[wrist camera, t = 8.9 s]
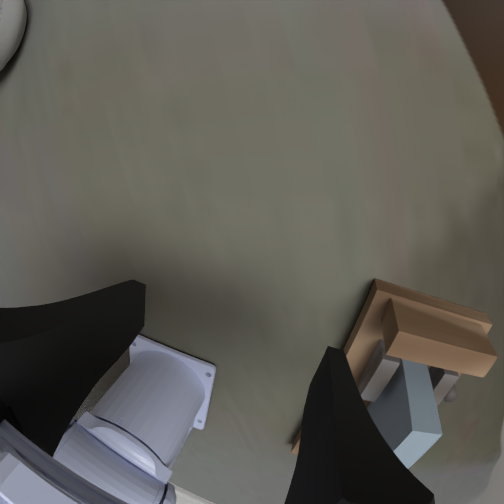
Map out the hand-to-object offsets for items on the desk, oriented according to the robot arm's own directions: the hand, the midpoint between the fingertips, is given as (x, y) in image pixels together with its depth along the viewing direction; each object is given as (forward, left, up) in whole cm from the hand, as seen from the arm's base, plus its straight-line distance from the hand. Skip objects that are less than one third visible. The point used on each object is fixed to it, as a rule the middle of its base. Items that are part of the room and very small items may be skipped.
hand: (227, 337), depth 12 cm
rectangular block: (-9, -11, -8) cm, 16 cm away
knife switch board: (-9, -11, -9) cm, 17 cm away
